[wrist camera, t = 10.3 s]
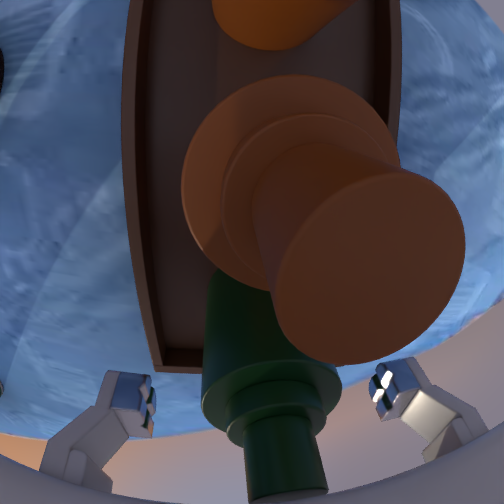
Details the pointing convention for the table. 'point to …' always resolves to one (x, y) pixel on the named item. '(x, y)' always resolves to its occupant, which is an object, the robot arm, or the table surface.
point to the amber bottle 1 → (276, 20)
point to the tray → (189, 119)
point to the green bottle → (264, 393)
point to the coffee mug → (1, 69)
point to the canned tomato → (1, 389)
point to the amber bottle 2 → (322, 217)
